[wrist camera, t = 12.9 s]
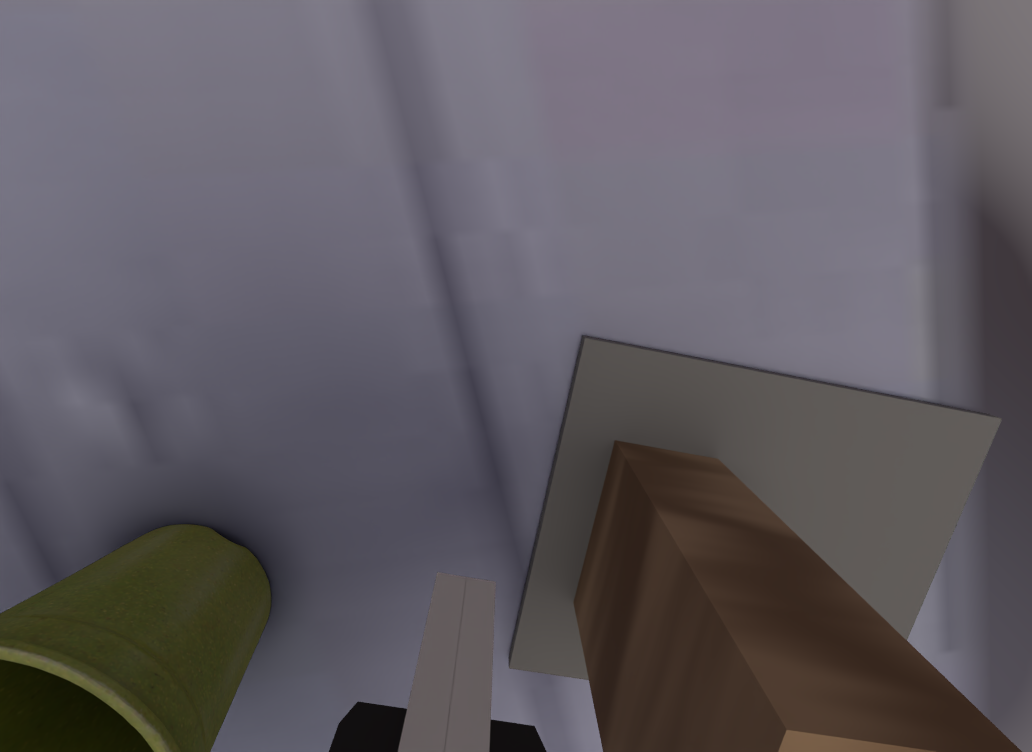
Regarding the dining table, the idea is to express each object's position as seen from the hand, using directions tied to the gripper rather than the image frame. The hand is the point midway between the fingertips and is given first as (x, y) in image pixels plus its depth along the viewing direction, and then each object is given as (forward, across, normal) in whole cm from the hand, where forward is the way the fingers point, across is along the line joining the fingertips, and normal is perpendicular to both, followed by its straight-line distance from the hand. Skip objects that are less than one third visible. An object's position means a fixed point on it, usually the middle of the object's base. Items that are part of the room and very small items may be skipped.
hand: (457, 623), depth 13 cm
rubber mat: (+7, +11, 0) cm, 13 cm away
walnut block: (+7, +7, 0) cm, 9 cm away
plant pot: (+7, -10, -6) cm, 14 cm away
